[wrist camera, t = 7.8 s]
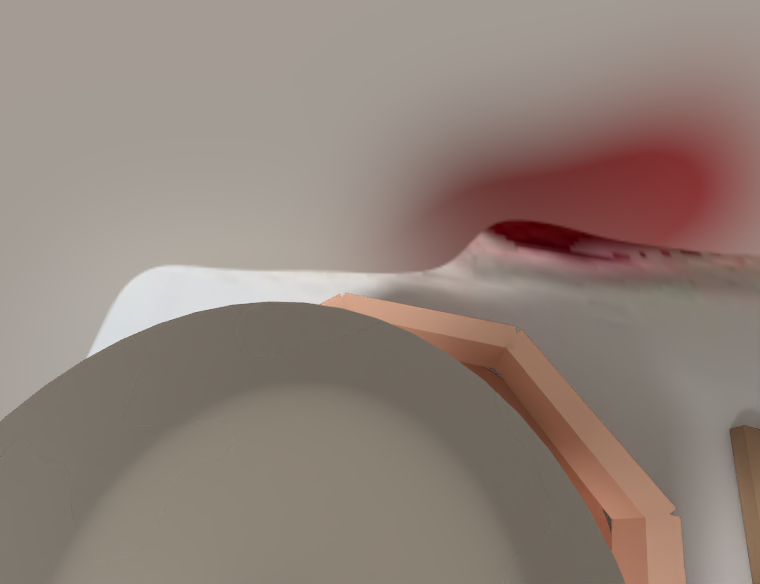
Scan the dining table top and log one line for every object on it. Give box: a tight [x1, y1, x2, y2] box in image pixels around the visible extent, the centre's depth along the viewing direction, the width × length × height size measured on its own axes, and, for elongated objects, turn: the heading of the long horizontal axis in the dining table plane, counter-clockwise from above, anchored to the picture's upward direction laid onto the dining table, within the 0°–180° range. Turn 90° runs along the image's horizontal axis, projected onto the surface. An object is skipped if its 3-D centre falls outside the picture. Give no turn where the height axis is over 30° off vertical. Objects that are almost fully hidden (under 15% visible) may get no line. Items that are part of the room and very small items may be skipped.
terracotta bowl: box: [319, 293, 686, 584], centre depth 14 cm, size 18×18×4 cm
